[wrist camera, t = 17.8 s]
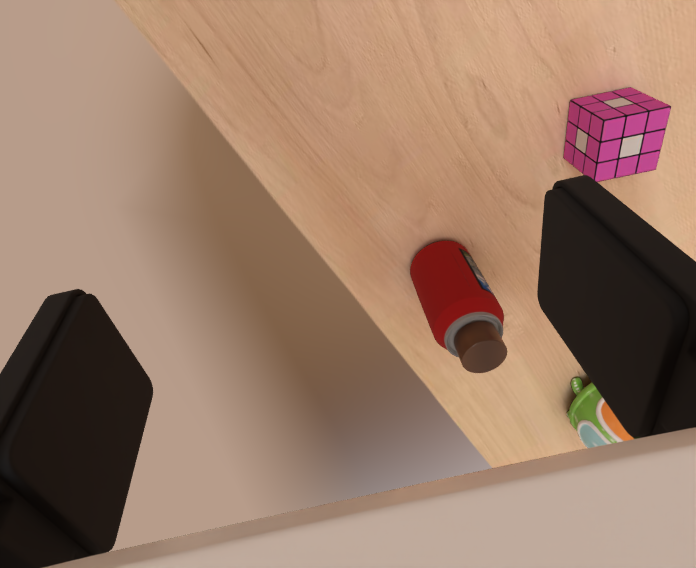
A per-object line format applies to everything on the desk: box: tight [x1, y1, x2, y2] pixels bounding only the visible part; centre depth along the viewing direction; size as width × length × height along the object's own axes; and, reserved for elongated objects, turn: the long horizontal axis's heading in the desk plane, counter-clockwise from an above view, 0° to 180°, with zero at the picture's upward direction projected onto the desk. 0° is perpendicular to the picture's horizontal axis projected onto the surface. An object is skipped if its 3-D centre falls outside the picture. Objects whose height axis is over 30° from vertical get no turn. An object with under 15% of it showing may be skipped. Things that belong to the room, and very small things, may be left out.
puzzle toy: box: [564, 87, 671, 182], centre depth 43 cm, size 6×6×6 cm
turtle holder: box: [567, 377, 639, 448], centre depth 67 cm, size 12×18×12 cm
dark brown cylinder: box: [454, 321, 507, 373], centre depth 43 cm, size 4×4×2 cm
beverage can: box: [410, 241, 504, 357], centre depth 48 cm, size 7×7×12 cm
